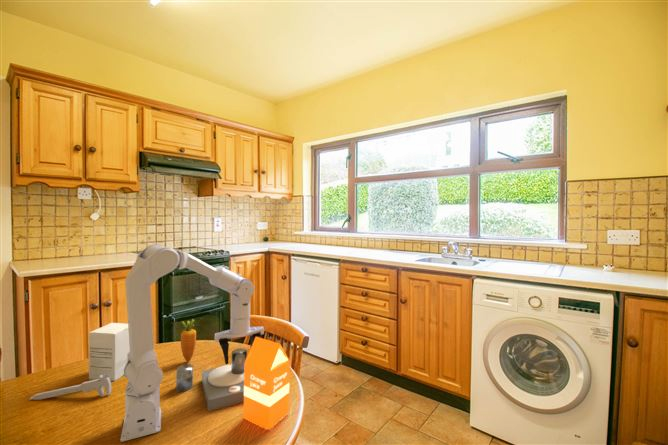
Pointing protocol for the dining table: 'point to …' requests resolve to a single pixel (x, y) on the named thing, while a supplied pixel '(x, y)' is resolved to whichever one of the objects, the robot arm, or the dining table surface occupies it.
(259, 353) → the orange juice
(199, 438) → the dining table surface
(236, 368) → the steel weight
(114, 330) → the supplement box
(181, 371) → the steel weight
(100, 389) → the caliper
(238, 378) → the kitchen scale
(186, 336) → the carrot
